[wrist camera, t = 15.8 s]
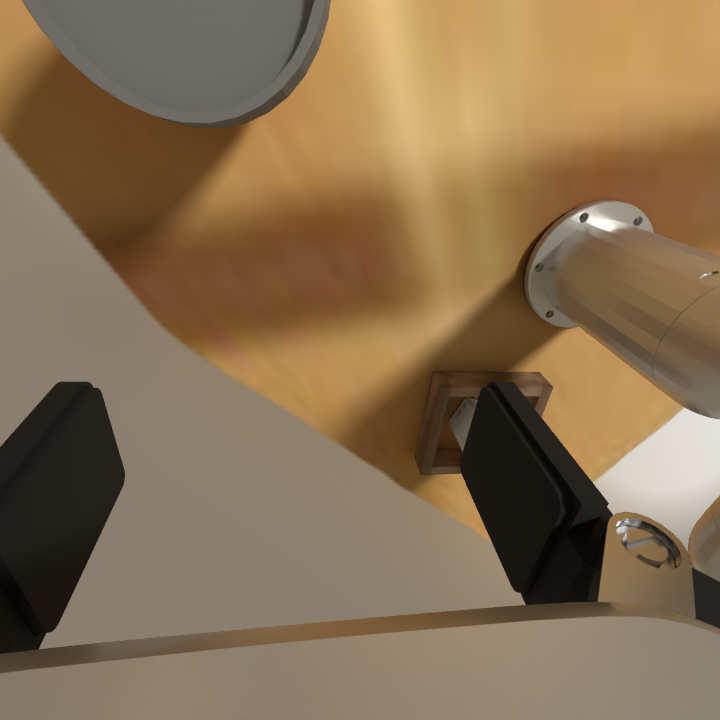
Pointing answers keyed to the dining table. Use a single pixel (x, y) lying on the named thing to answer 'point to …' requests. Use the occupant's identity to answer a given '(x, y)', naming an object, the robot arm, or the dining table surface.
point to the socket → (466, 386)
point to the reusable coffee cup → (189, 52)
